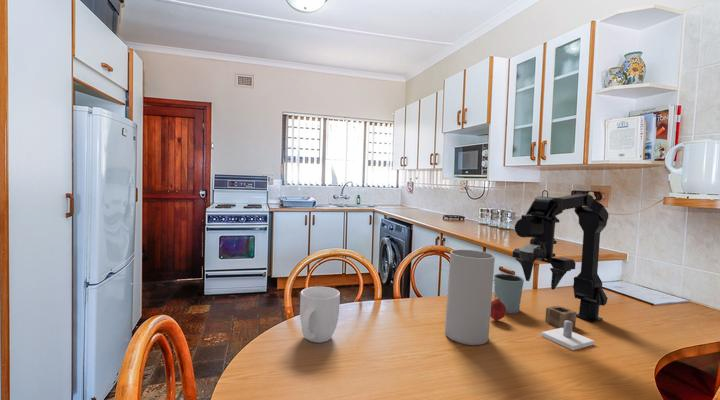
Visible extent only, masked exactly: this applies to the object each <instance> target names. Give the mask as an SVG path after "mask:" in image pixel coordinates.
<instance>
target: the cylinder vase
mask: <svg viewBox="0 0 720 400" xmlns="http://www.w3.org/2000/svg"><path fill="white" fill-rule="evenodd" d="M495 258H496V256H495V254H492V253H489V252H486V251H480V250H475V249H474V250H473V249H452V250H450V252H449V265H448V280H447V294H446V295H447V296H446V308H445V309H446V310H445V311H446V312H445V325H444V334H445V335H446V337H447V338H449V339H450V340H452V341H454V342H456V343H459V344H462V345H467V346H481V345H484V344H486V343H487V342H488V341H489V338H490V337H489V335H490V325H491V323H490V322H491V317H490V313H491V302H492V301H493V300H492V298H493V288H494V286H493V284H494V275H495V274H494V272H495V260H496V259H495Z"/></svg>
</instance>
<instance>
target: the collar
mask: <svg viewBox="0 0 720 400" xmlns="http://www.w3.org/2000/svg"><path fill="white" fill-rule="evenodd" d="M576 314H577V311H575V310H572V309H570V308H566V307H564V306H561V305H553V306H548V307H546V308H545V318H544V323H547V324H549V325H552V326H554V327H556V328H557V329H558V328H564V321H565V320H568V321H572V322H573V326H572V328H575V327H576V320H577V316H576Z"/></svg>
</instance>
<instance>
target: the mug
mask: <svg viewBox="0 0 720 400" xmlns="http://www.w3.org/2000/svg"><path fill="white" fill-rule="evenodd" d="M340 299H341V293H340V291H339V290H338V289H336V288H333V287H329V286H309V287H306V288H304V289H302V290H300V301H299V303H300V304H299V313H300V314H299V320H300V325H301V332H302V336H303V337H304V339H306V340H308V341H309V342H312V343H325V342H327V341H329V340H330V339H331V338H332V337H333V335H334V333H335V331H336V328H337V325H338V321H339V314H340V302H341V301H340Z"/></svg>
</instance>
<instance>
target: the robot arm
mask: <svg viewBox="0 0 720 400" xmlns="http://www.w3.org/2000/svg"><path fill="white" fill-rule="evenodd" d="M570 209H574V213H575V214H576V215H577V217H578V225H579V227H580V228H581V229H582V232H583V234H582V236H583V237H582V250H581V252H582V253H581V264H580V265H581V266H580V271H579V274H578V275H576V276H574V277H573V285H572V288H573V295H574V299H576V300H577V299H578V300H579V301H580V302H579V303H580V304H579V309H578V313H576V318H580V319H583V320H585V321H588V322H590V323H596V322H599V321H603V320H604V318H602V317H600V316H599V313H600V306H602V307H603V306H606V305H607V302H608V296H607V294H606V293H605V291H604V290H603V281H602V280H601V278H600V276H599V274H598V268H599V254H600V244H601V243H600V240H601V232H602V231H603V230H604V229H605V228H606V226H607V224H608V220H609V217H610V215H609V212H608V210H607V209H606V207H605V206H604V205H603V204H602V203H600V202H599V201H598V200H596V199H595V198H594V197H593V195H591V194H589V193H575V194H572V195H564V196H559V197H558V196H557V197H551V196H536V197H535V198H534V200H533V202H532V203H531V205H530V206H529V208H528V209H527V211H526V212H525V214H522V215H521V218H519V219H518V220H517V221H516V223H515V224H514V231H515V233H516V235H517V236H518V237H520V238H530V240H529V244H526V245H524V246H523V247H521V248H519V247H518V248H514V249H513V250H512V255H511V256H512V258H515V261H517V262H518V263H519V264H520V266H521V268H522V271H523V274H524V278H525V279H524V280H525V281H526V282H530V280H531V276H532V273H533V272H532V271H533V268H534V267H533V266H534V262H535V261H540V262H543V263H547V264H550V265H551V266H552V267H550V268H549V270H550V272H551V281H550V282H551V283H550V285H551V286H550V287H551V288H550V290H555V289H556V287H557V286H558V285H559V283H560V282H561V280H562V279H563V278H564V276H565V275H566V274H567V272H571V270H576V265H577V264H576V262H575V260H574V259H572V258H568V257H563V256H562V257H561V256H560V257H556V252H555V253H554V245H556V244H557V242H558V241H557V240H555V229H556V223H557V224H558V223H560V222H561V221H560V219H559V218H557V216H558V215H560V214H563V212H564V211H565V210H570Z"/></svg>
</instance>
